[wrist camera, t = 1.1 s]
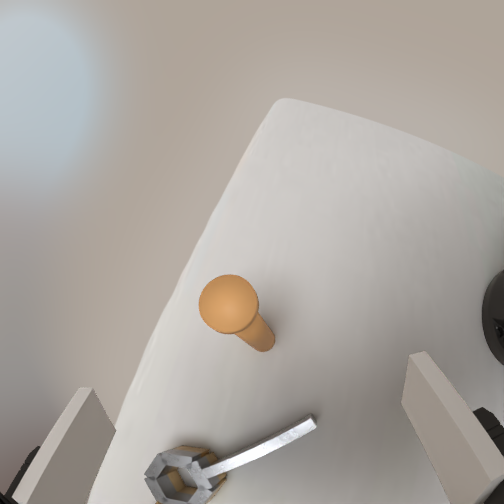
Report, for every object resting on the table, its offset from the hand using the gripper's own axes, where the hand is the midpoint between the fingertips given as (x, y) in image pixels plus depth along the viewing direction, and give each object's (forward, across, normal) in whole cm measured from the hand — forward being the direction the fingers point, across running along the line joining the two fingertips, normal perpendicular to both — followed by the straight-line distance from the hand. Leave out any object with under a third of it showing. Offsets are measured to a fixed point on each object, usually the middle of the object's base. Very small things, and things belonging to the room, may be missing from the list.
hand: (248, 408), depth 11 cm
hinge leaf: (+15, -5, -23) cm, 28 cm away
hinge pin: (+24, 0, -12) cm, 27 cm away
